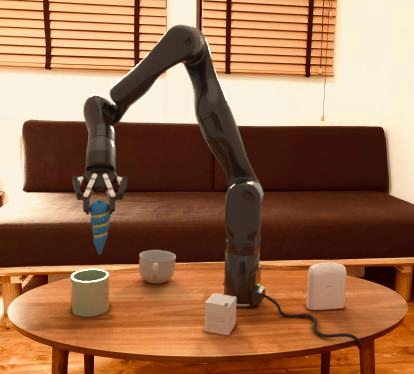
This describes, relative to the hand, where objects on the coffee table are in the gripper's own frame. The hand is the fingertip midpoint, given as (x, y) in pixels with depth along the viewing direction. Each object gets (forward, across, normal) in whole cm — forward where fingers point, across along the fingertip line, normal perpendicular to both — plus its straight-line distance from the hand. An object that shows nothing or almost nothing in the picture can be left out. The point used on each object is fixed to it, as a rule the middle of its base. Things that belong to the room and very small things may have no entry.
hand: (99, 212), depth 113 cm
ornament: (+7, 0, +9) cm, 12 cm away
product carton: (+27, +28, +9) cm, 40 cm away
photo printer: (+22, +58, +14) cm, 64 cm away
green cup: (+17, -2, +19) cm, 26 cm away
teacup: (+6, +15, +31) cm, 35 cm away
